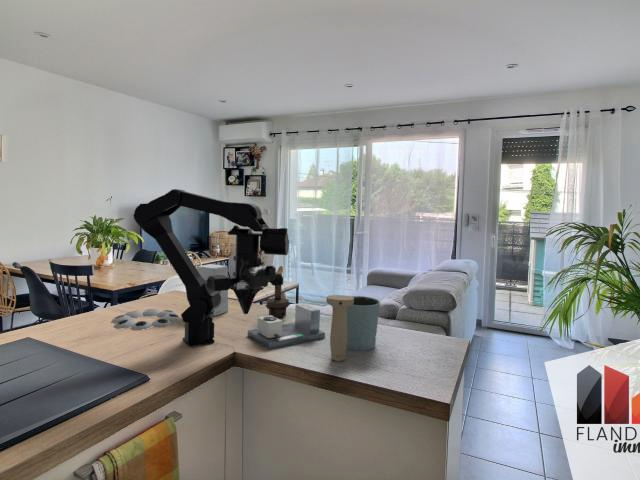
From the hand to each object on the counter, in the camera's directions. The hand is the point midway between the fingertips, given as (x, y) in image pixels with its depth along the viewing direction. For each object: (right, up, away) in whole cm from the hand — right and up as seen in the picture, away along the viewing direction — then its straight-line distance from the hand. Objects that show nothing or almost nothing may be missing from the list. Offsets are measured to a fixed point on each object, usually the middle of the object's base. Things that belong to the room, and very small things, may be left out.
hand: (245, 313), depth 100 cm
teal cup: (+29, -9, +4) cm, 31 cm away
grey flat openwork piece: (-33, -6, +19) cm, 39 cm away
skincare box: (-17, -5, +29) cm, 34 cm away
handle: (+23, -10, -7) cm, 26 cm away
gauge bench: (+10, -8, +8) cm, 15 cm away
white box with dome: (+7, -6, +4) cm, 10 cm away
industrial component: (+4, -6, +27) cm, 28 cm away
